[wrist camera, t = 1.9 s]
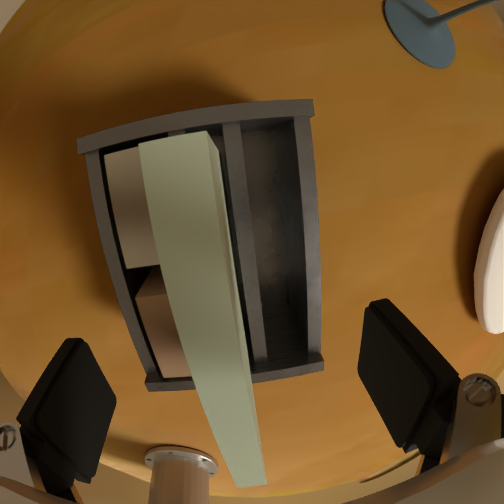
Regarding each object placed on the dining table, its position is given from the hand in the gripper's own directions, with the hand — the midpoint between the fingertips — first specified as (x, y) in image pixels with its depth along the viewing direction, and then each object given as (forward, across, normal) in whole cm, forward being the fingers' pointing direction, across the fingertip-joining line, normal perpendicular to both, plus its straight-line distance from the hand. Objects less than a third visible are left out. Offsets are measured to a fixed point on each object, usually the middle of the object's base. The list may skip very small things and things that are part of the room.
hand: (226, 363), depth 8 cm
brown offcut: (+17, +5, -4) cm, 18 cm away
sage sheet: (+17, 0, +1) cm, 17 cm away
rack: (+18, 0, +1) cm, 18 cm away
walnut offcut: (+17, +5, +5) cm, 18 cm away
